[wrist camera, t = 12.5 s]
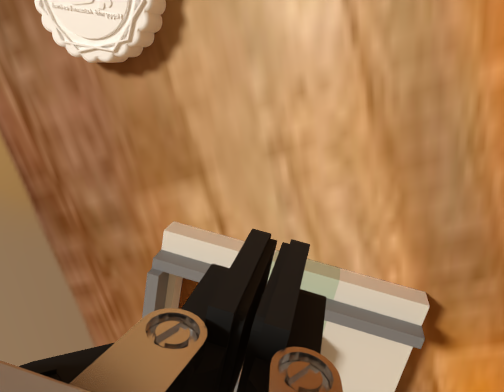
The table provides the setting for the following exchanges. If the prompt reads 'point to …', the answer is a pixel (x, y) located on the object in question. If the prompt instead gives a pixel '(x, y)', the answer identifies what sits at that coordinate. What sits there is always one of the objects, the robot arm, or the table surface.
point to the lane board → (320, 282)
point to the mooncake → (102, 26)
